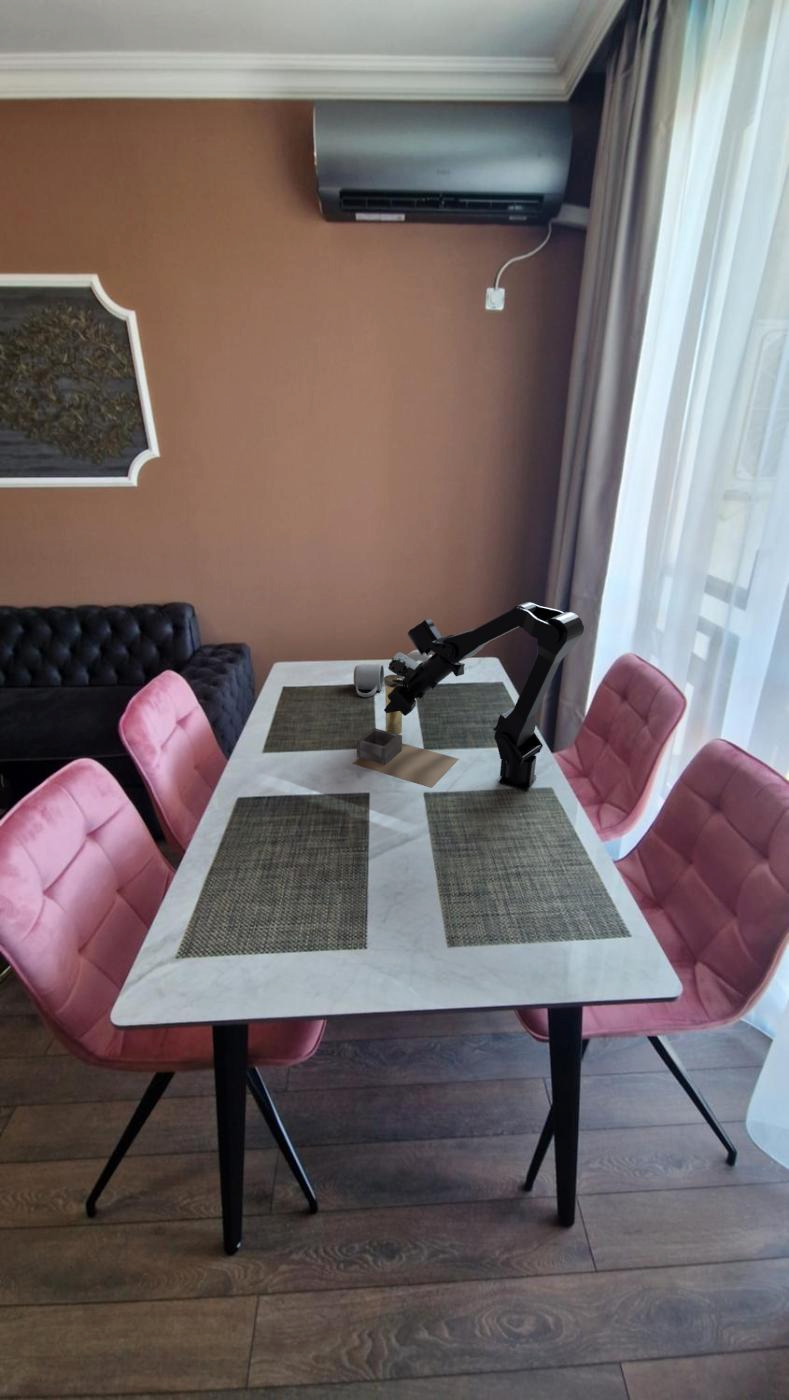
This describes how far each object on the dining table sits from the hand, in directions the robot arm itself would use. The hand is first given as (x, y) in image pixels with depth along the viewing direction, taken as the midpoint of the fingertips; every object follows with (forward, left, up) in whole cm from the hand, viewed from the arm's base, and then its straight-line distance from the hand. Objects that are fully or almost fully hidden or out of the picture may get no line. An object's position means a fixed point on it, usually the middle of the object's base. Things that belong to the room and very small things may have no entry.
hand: (388, 707), depth 147 cm
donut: (+11, -37, -9) cm, 40 cm away
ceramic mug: (+20, -23, -9) cm, 32 cm away
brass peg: (-1, 0, -6) cm, 6 cm away
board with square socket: (-10, +10, -8) cm, 17 cm away
